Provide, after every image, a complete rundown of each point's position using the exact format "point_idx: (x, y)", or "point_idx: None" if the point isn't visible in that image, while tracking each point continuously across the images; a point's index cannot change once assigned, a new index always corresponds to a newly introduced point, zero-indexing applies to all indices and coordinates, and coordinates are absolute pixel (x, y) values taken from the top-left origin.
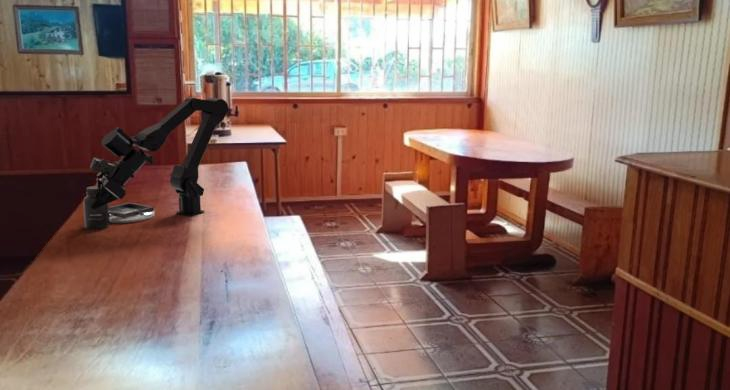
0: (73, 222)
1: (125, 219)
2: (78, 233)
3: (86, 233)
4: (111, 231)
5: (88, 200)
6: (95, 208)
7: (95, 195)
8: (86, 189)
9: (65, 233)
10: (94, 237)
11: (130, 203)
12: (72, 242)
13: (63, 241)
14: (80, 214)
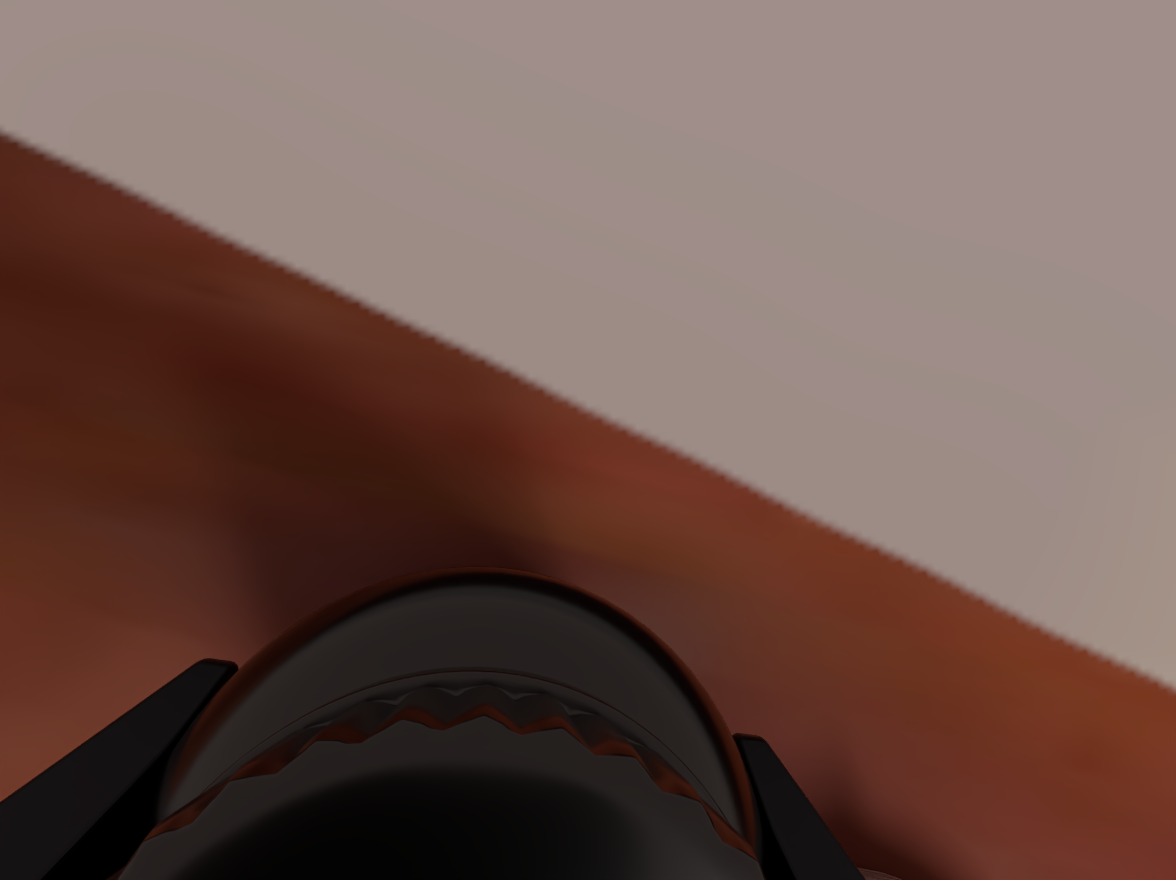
0: (838, 545)
1: None
2: (341, 467)
3: (278, 540)
4: None
5: (283, 646)
6: None
7: None
8: (483, 702)
9: (432, 363)
10: (20, 570)
11: None
12: (9, 319)
13: (127, 265)
14: (1152, 699)
